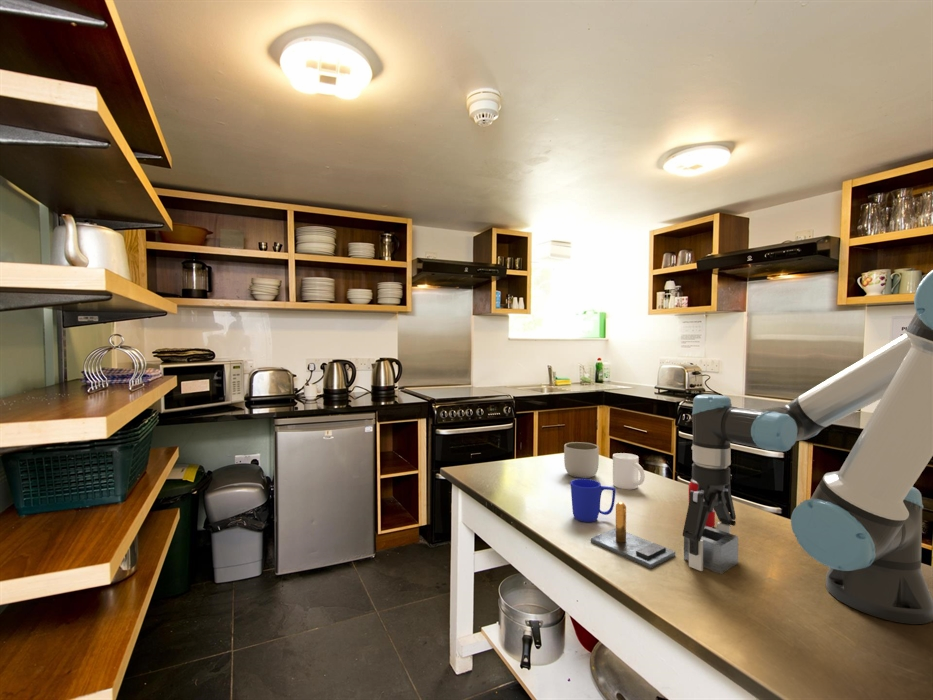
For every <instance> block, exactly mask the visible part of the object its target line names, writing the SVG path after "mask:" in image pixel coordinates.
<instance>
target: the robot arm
mask: <svg viewBox="0 0 933 700" xmlns="http://www.w3.org/2000/svg"><path fill="white" fill-rule="evenodd" d="M913 300H914V309H915V313H914V314H913V315H914V316H913V317H912V318H911V321H910V323H909V324H908V326H907V328H906V329H905V331H904V333H903V334H901V335H900V336H899V337H896V338H895V339H893V340H892V341H890V342H888V343H887V344H885V345H883V346H882V347H880V348H878V349H876V350H875V351H874V352H871V353H870V354H868V355H866V356H865V357H863V358H861V359H860V360H858V361H856V362H855V363H853V364H851V365H850V366H848V367H846V368H844V369H842V370H841V371H839V372H838V373H836V374H835V375H832V376H831V377H829V378H827V379H826V380H825V381H822V382H821V383H819V384H817V385H815V386H814V387H812V388H811V389H809V390H808V391H806V392H804V393H802V394H801V395H799V396H797V398H794V399H792V400H791V401H789V402H788V403H785V404H783V405H781V406H776V407H770V408H762V409H751V408H745V407H744V408H743V407H741V408H740V407H736V406H732V404H733V403H732V400H731V398H730V397H729V396H726V395H722V394H720V395H719V394H697V395H696V396H695V397H694V398H693V401H692V413H691V419H692V445H691V447H690V448H691V450H692V451H691V453H692V458H691V459H692V461H693V463H692V464H691V479H693V480H694V481H696V482H697V483H698V484H699V486H698V490H697V492H695V491H692V490H691V491H690V499H689V498H688V506H687V512H686V516H685V521H684V525H683V529H682V537H683V538H684V537H686V538H689V561H688V567H689V568H691V569H692V568H693V569H694V570H697V571H699V572H703V571H704V567H703V540H701V537H702V534H703V531H704V528H705V524H706V521H707V518H708V515H709V513H710V512H712V511H713V508H714V510H715V516H716V517H717V519H718V522H716V529H717V530H720V531H723V532H726V533H729V534H732V533H731V529H732V528H731V526H733V527H735V526H736V522H737V521H735V520H736V519H737V517H736V516H737V515H736V511H735V506H734V501H733V497H732V493H731V487H732V486H731V468H730V467H729V466H731V463H732V460H731V458H732V457H731V454H732V453H731V443H734V444H739V445H744V446H748V447H749V446H750V447H752V448H753V447H754V448H759V449H761V450H762V449H763V450H764V451H776V452H787V451H789V450H791V449H792V447H793V446H794V445H795V443H796V442H798V441H805V440H808V439H811V438H813V437H815V436H817V435H818V434H819V433H820V432H821V431H822V430H823V429H825V428H827V427H829V426H831V425H832V424H834V423H836V422H838V421H840V420H843V419H844V418H846V417H848V416H851V414H852V415H853V414H854V413H856V412H859V410H862V409H863V408H865V407H868V406H870V405H872V404H874V403H876V402H877V401H879V402H878V404H877V406H876V407H875V409H874V411H873V412H872V414H871V416H870V417H869V419H868V421H867V423H866V424H865V426H864V427H863V430H862V431H861V433H860V435H859V436H858V438H857V440H856V441H855V443H854V445H853V446H852V448H851V450H850V452H849V454H848V456H847V457H846V458H845V461H844V462H843V464H842V466H841V467H840V469H839V470H837V471H831V472H826V473H825V474H823V477H822V478H821V480H820V482H819V484H818V485H817V487H816V489H815V491H814V492H813V494H812V495H811V497H810V499H805V500H803V501H801V502H800V503H799V504H798V505H797V506H795V508H794V509H793V511H792V513H791V516H790V526H791V530H792V533H793V534H794V537H795V538H796V541H797V542H798V544H799V545H800V548H802V549H803V551H805V553H806V554H808V555H809V556H810V557H811V558H813V559H814V561H817V562H819V563H820V564H822V565H824V566H826V567H828V570H827V572H826V576H825V579H826V580H825V587H826V590H827V591H828V592H829V594H830V595H831V596H833V597H834V598H835V599H837V600H838V601H839V602H841V603H843V604H845V605H847V606H848V607H851V608H852V609H855V610H857V611H860V612H862V613H864V614H867V615H870V616H872V617H875V618H879V619H882V620H885V621H890V622H894V623H900V624H906V625H907V624H910V625H924V624H928V623H931V622H933V597H932V594H931V592H930V590H929V587H928V584H927V582H926V579H925V576H924V575H923V571H922V544H923V543H922V542H923V541H922V535H923V534H922V533H923V531H922V529H923V510H924V505H923V500H922V499H923V498H922V492H920V490H919V489H917V488H916V487H914V484H915V483H916V482H917V480H918V479H919V478H920V476H921V474H922V472H923V471H924V470H925V468H926V467H927V465H928V463H929V462H930V461H931V459H932V457H933V269H932V270H930V271H929V272H928V273H927V274H926V275H925V276H924V277H923V278H922V280H921V281H920V282H919V284H918V286H917V288H916V290H915V293H914V299H913Z"/></svg>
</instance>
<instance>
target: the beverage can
mask: <svg viewBox="0 0 933 700" xmlns="http://www.w3.org/2000/svg"><path fill="white" fill-rule="evenodd" d="M698 486H699V484H698V483H697V482H696V481H694V480H693V478H691V479H690V482H689V484H688V500H689V499H690V491H691V490H692V491H695V492H697V490H698ZM715 525H716V512H715V510H714V508H713V511H712V512H710V513H709V515H708V518H707V521H706V524H705V526H708V527H711V528H713V527H715Z"/></svg>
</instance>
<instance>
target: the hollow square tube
mask: <svg viewBox="0 0 933 700" xmlns="http://www.w3.org/2000/svg"><path fill="white" fill-rule="evenodd" d="M701 540H703V569H704V568H706V569H707V570H710V571H712V572H715V573H717V574H719V575H722V574H723V573H725V572H726V571H728V570H729V569H731V568H733V567H734V566H735V565H737V564H739V536H738V535H736V534H733V533H731V534H729V533H726V532H723V531H720V530H717V528H713V527H712V528H711V527H708V526H705V528H704V531H703V534H702V537H701ZM683 560H684V561H687V562H689V538H686V537H684V536H683Z"/></svg>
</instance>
